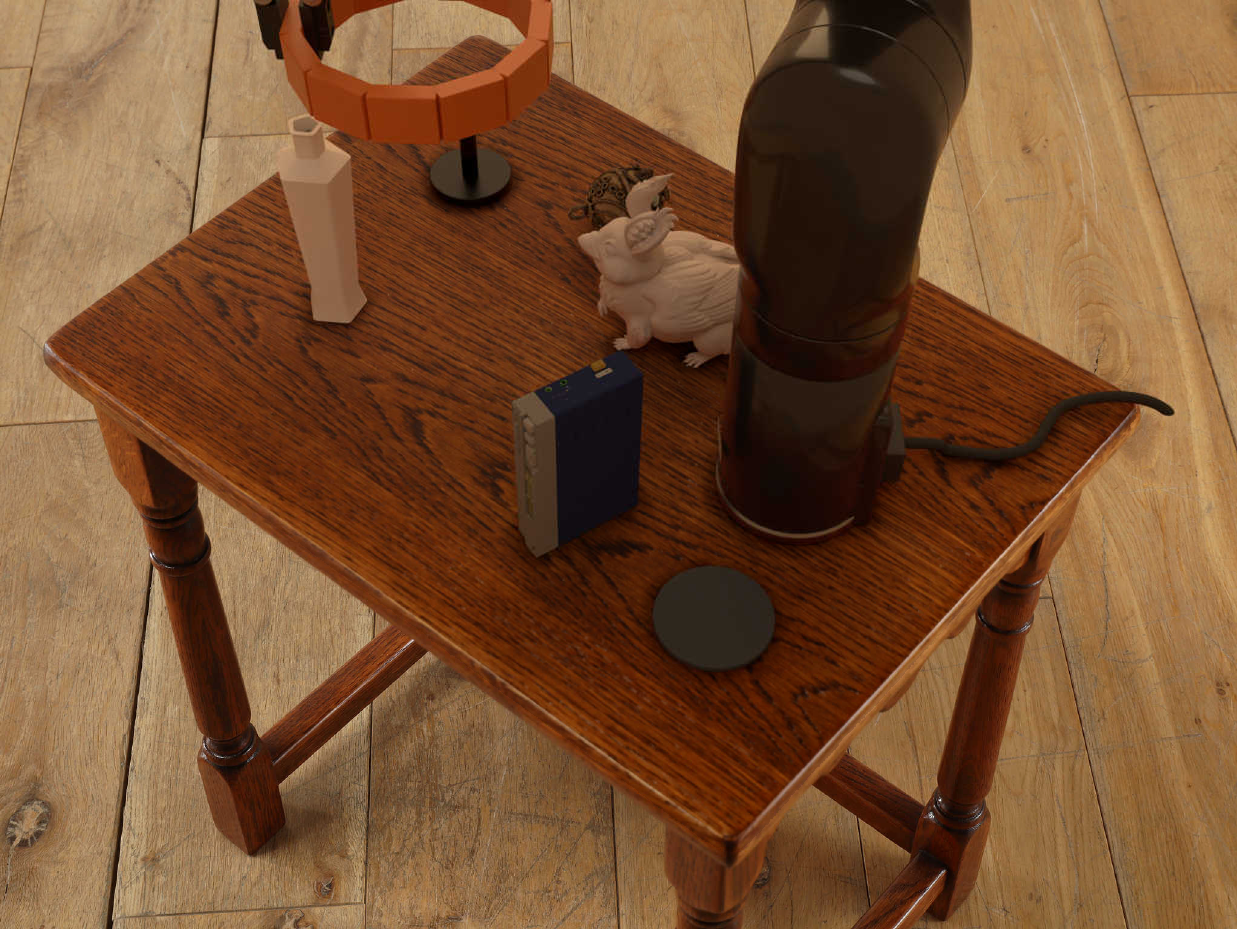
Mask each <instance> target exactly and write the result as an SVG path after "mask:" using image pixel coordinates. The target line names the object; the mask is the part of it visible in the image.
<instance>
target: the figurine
mask: <svg viewBox="0 0 1237 929" xmlns="http://www.w3.org/2000/svg"><path fill="white" fill-rule="evenodd" d="M673 175H675V173H674V172H673V173H668V174H665V175H663V174H662V175H655V177H652V178H650V179H649V180H644V181H643V182H642V183H641V182H638V183H637V185H635V186H634V187H633V188H632V190H631V192H630V193H629V194H628V196H627V198H626V207H627V211H628V213H629V215H630V217H631V219H630V218H627V217H620V218H616V219H614V220H612V221H611V222H609V223H608V224H607V225H605V226H604V227H603V228H601V229H600V230H593V231H590V232H586V233H583V234H581V235H580V236H578V238H577V242H578V245H579V246H580V248H581V249H582V251H583V252H584V253H586V255H588V256H590V257H591V258H592V260H593V263H594V265H595V267H596V269H597V270H598V271H599V273H600V274H601V275H600V276H599V280H600V281H599V285H598V289H599V294H600V298H599V299H598V300H599V301H598V302H597V311H598V313H599V315H600V318H602V317H603V316H605V315H606V316H607V315H608V313H609V310H610V311H612V312H614V313H616V314H617V315H618V316H619V318H621V319H622V320H623V321H624V322H625V324H626V334H624V335H623V336H624V337H618V338H615V339H614V341H613V342H612V344H614V345H613V346H612V347H615V349H616V350H617V351H620V350H630V349H633V350H634V349H635V350H637V349H640V348H642V347H643V346H645V345H647V343H649V342H650V341H651V340H652V338H655V339H657V340H659V341H662V342H664V343H665V342H666V343H670V344H671V343H672V344H678V343H687V342H693V346H694V347H695V349H696V350H697V351H696V352H690V353H688V354H687V355H685V356H684V358H685V359H684V360H683V361H682V363H687V364H686V366H685V367H688V366H689V367H692V369H694V368H695V369H698V368H699V366H701V365H702V364H704V363H706V362H708V361H710V360H711V359H713V358H715V357H718V356H719V355H724V356H726V355H730V347H731V337H732V328H733V319H734V309H735V300H736V291H737V281H738V272H739V261H738V259H737V256H736V253H735V250H734V246H733V245H731V244H729V243H726V242H723V241H718V240H714V239H709V238H707V237H706V236H705V235H702V234H700V233H698V232H694V231H688V230H673V231H672V230H671V229H675V223H674V222H673V221H677V222H680V219H679V217H678V216H677V215H676V214H674V213H669V212H674V211H675V209H673V208H671V207H663V209H661V210H660V212H659V208H658V207H657V210H656V211H655V212H654V211H651V203H652V201H653V199H654V197H655V196H656V195H657V194H658V193H659V192H660V191H662V190H663V189H664V187H665V186H666V185H668V184H667V183H668V181H669V179H670V178H672V176H673ZM693 365H694V366H693Z"/></svg>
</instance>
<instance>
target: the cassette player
mask: <svg viewBox="0 0 1237 929" xmlns="http://www.w3.org/2000/svg"><path fill="white" fill-rule="evenodd" d="M643 399H644V373H643V372H642V371H641V370H640V369H639V367H638V366H637V365H636V364H635V363H634V362H633V361H632V360H631V359H630V358H629V356H627V354H626V353H625V352H624V351H623V349H621V350H617V351H615V352H614V353H611V354H610V355H608V356H606V357H603V358H600V359H598V360H596V361H594V362H592V363H590V364H589V365H586V366H583V367H582V368H580V369H579V370H576V371H574V372H572V373H570V374H568V375H565V376H563V377H561V378H559V379H557V380H555V381H552V382H550V383H548V384H546V385H544V386H541V387H540V388H537V389H535V390H533V391H531V392H529V393H527V394H525V395H523V396H521V397H518V398H516V399H514V400H512V401H511V416H512V432H513V433H512V434H513V451H514V465H515V466H514V467H515V482H516V498H517V499H516V500H517V516H518V531H519V532H520V534H521V535H522V536H523V538H524V540H525V542H524V543H525V545H526V547H527V548H528V550H530V552H531V553H532V554H533V556H534V557H535V558H536V559H537V558H539V557H542V556H543V555H545V554H547V553H549V552H550V551H552V550H555V549H557V548H558V547H561V546H562V545H564V544H567V543H569V542H570V541H572V540H574V539H575V538H578V537H580V536H582V535H583V534H585V533H587V532H589V531H592V530H593V529H595V528H597V527H599V526H601V525H602V524H603V525H604V524H605V523H607V522H608V521H610V520H612V519H614V518H616V517H619V516H620V515H622V514H624V513H626V512H628V511H630V510H631V509H634V508H636V507H637V506H638V505H639V495H640V493H639V491H640V472H641V470H640V468H641V446H642V426H643Z"/></svg>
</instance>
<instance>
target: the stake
mask: <svg viewBox="0 0 1237 929" xmlns="http://www.w3.org/2000/svg"><path fill="white" fill-rule="evenodd" d="M458 141H459V148H455V149H452V150H449V151H447V152H445V153H443V154H441V155H440V156H439V157H438V158H437V159H436V160H434V162H433V163H432V165H431V166H430V169H429V176H428V178H429V184H430V185H429V186H430V188H431V191H432V193H433V194H434V195H435V196H436V197H437V198H438V199H439V200H441V201H442V202H444V203H446V204H448V205H451V206H454V207H459V208H469V209H471V208H479V207H484V206H488V205H491V204H493V203H495V202H497V201H499V200H501V199H502V198H503V197H504V196H506V194H507V193H508V191H509V190H510V188H511V186H512V182H513V177H512V176H513V172H512V167H511V165H510V163H509V161H508V160H507V159H506V158H505V157H504V156H503V155H502V154H500V153H499V152H496V151H495V150H492V149H489V148H485V147H480V146H479V147H478V145H477V144H478V143H477V134H476V135H473V136H470V137H466V138H463V139H460V140H458Z"/></svg>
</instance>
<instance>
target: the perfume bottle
mask: <svg viewBox="0 0 1237 929" xmlns="http://www.w3.org/2000/svg"><path fill="white" fill-rule="evenodd" d="M287 124H288V132H289V134H290V135H291V138H292V142H293V144H292V145H289V146H287V147H283V148H280V149H278V150H277V151H276V152H277V153H276V155H277V163H278V172H279V179H280V182H281V186H282V189H283V193H284V196H285V200H286V203H287V207H288V210H289V214H290V217H291V221H292V224H293V228H294V231H295V236H296V238H297V243H298V245H299V249H300V252H301V256H302V259H303V263H304V266H305V267H304V268H305V270H306V273H307V276H308V280H309V283H310V288H311V293H310V302H311V303H310V304H311V312H312V318H313V320H314V321H318V322H327V323H328V322H330V323H341V324H349V323H351V322H353V321H354V319H355V317H357V315H358V314H359V312H360V311H361V310H362V308H363V307H364V306H365V305H366V303H367V302H368V299H367V296H366V295H365V293H364V292H363V291H364V290H363V289H362V288H361V286H360V283H359V274H358V273H359V270H358V269H359V268H358V253H357V237H356V236H357V235H356V222H355V206H354V192H353V191H354V190H353V174H352V158H351V157H352V156H351V155H350V154H349V153H347V152H346V151H345V150H344V149H341V148H340V147H339V146H337V145H335V144H334V143H332V142H330V141H329V140H327V139H326V138H325V137H324V130H323V126H324V125H325V124H324V123H322V122H320V121H317V120H315V119H314V116H313V117H311V116H310V114H309V113H304V114H301V115H298V116H295V117H292V118H290V119H288V121H287Z"/></svg>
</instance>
